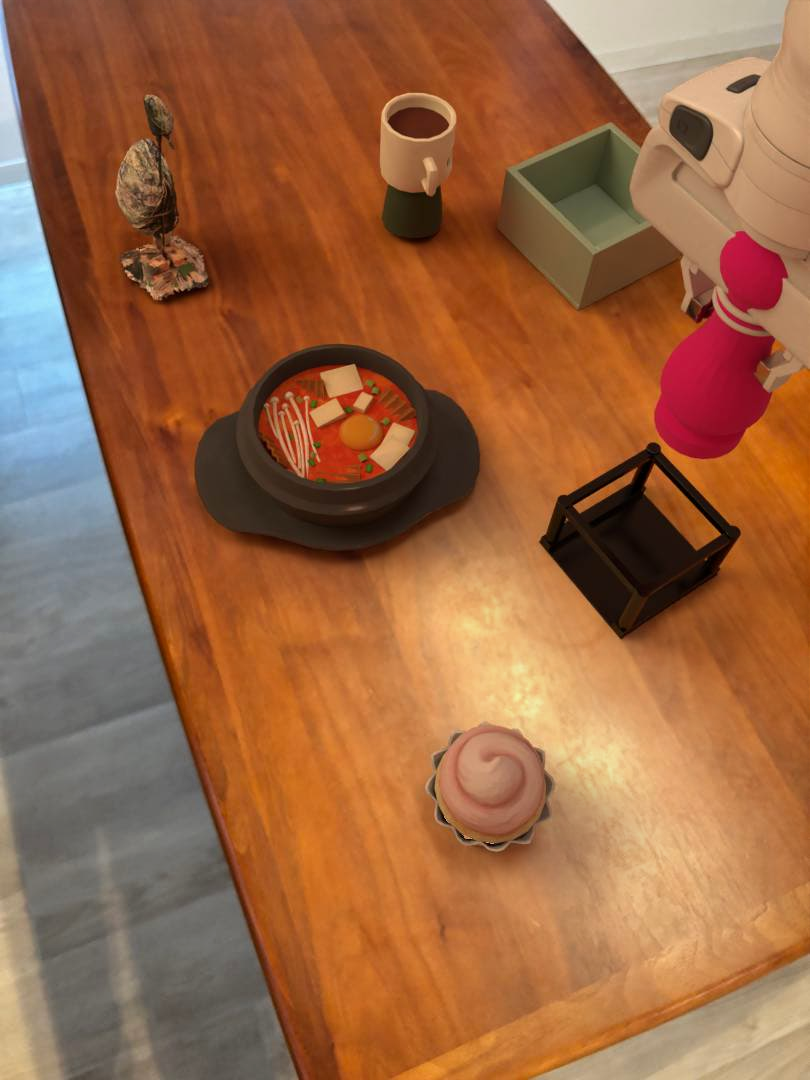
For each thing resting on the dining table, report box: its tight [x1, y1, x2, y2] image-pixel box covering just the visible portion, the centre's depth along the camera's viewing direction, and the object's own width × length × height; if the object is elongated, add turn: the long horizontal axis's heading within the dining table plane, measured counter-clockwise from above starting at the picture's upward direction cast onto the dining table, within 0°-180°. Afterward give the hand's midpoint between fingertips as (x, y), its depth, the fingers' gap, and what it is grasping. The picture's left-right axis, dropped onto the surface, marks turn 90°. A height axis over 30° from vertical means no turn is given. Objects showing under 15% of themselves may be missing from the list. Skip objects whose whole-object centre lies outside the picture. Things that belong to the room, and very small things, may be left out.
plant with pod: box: [114, 94, 211, 301], centre depth 92 cm, size 8×11×20 cm
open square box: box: [496, 121, 682, 311], centre depth 102 cm, size 14×14×8 cm
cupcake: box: [424, 720, 556, 852], centre depth 71 cm, size 9×9×10 cm
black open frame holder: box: [538, 441, 742, 640], centre depth 84 cm, size 11×11×8 cm
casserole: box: [194, 343, 481, 552], centre depth 86 cm, size 25×19×8 cm
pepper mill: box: [653, 231, 788, 460], centre depth 62 cm, size 7×7×20 cm
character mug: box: [379, 92, 457, 239], centre depth 100 cm, size 11×7×13 cm, turn 16°
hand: (731, 346), depth 63 cm, fingers closed on pepper mill, 5 cm apart
